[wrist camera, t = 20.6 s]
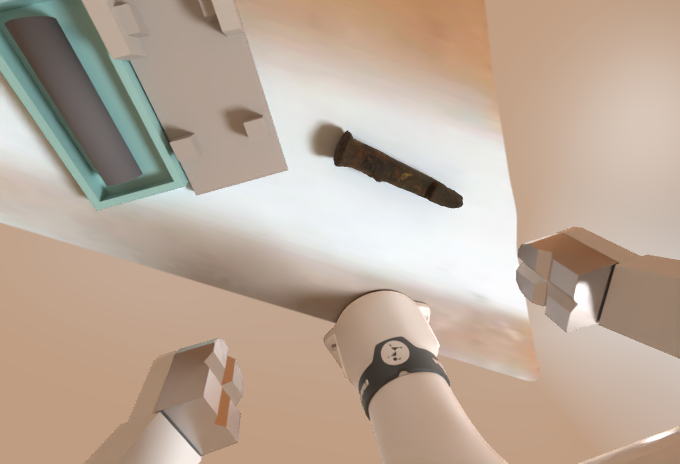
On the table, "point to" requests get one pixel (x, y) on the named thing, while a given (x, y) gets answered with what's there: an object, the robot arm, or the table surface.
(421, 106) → the table surface
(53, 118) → the tray
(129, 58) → the cradle
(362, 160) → the hand tool
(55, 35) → the dark grey cylinder
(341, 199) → the table surface
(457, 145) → the table surface
